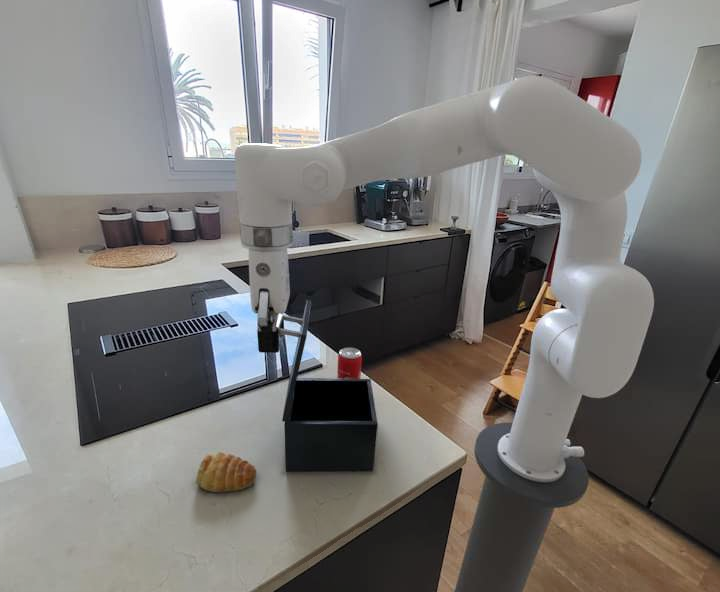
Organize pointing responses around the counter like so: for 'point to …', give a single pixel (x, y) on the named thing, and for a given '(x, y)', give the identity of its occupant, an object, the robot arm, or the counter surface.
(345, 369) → the beverage can
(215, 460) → the pastry
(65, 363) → the counter surface
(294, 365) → the bin lid
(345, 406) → the waste bin
